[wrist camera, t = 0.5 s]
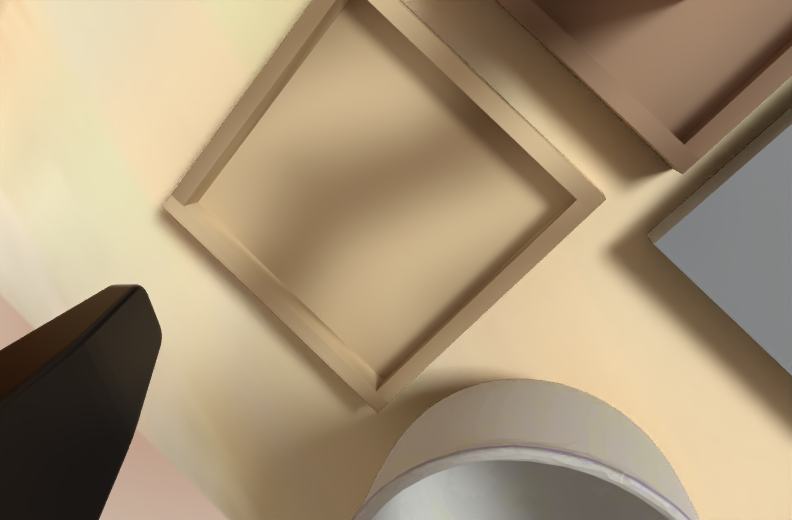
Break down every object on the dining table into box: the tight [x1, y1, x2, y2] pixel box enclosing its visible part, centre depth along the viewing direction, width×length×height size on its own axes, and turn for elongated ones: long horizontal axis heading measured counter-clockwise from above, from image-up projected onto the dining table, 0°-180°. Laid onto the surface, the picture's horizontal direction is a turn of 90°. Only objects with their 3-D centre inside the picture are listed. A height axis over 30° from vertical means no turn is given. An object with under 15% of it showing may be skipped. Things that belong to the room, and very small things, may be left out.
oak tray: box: [163, 0, 606, 413], centre depth 21 cm, size 11×11×2 cm
